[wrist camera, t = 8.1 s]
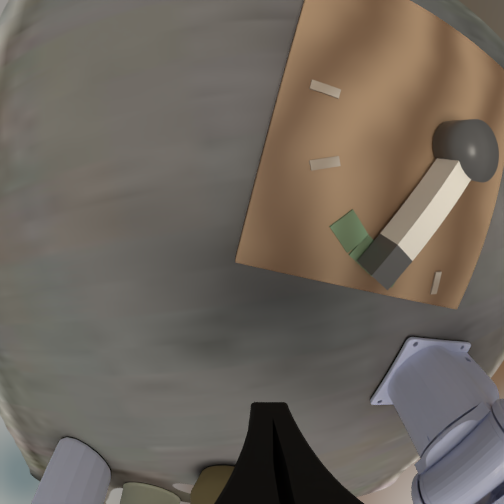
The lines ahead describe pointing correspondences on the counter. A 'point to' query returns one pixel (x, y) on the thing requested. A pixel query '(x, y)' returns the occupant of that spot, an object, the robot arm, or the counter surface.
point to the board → (370, 147)
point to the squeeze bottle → (210, 484)
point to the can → (147, 494)
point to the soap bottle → (73, 476)
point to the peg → (433, 196)
